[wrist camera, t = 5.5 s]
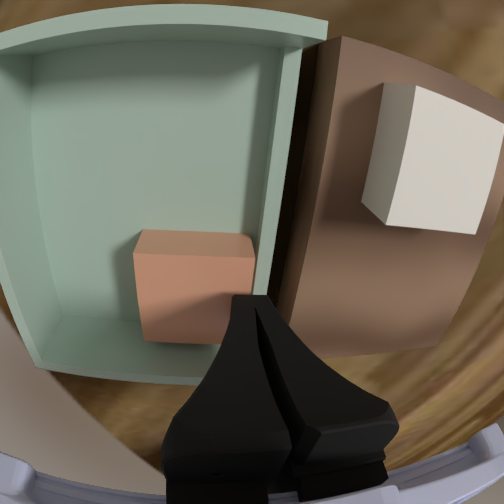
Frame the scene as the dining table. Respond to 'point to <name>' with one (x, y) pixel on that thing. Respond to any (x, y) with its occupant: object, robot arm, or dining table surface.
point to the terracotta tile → (190, 283)
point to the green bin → (136, 166)
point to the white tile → (431, 161)
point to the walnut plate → (371, 218)
